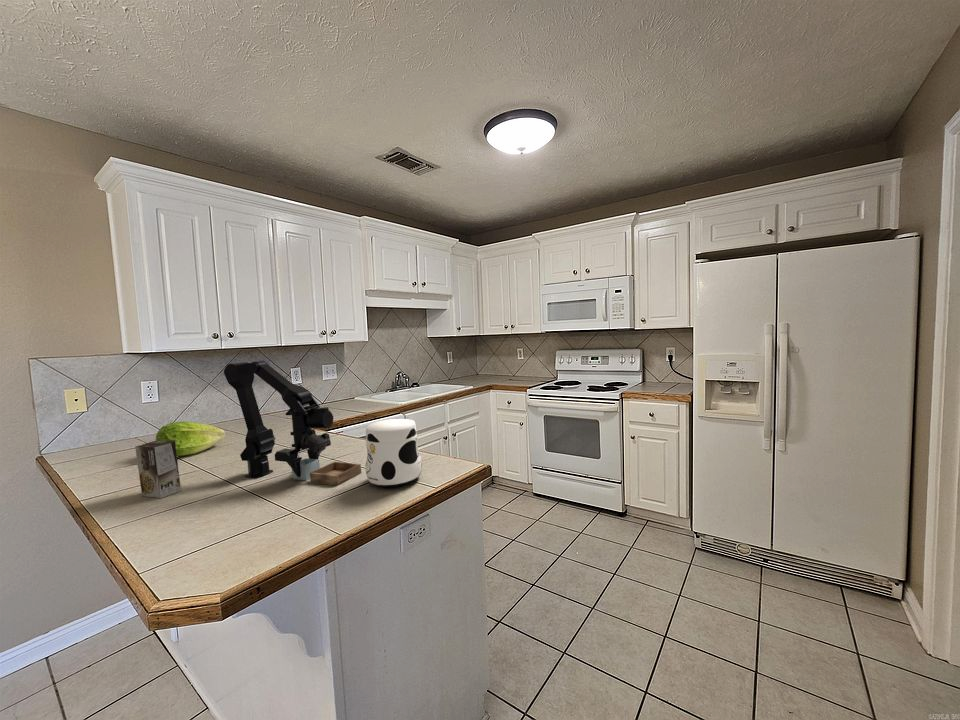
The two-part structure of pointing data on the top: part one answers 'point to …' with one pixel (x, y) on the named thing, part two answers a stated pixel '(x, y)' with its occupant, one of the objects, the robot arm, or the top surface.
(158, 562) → the top surface
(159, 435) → the lettuce
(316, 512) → the top surface
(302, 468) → the small crate
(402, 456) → the milk container
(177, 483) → the coffee box
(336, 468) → the brown wooden tray
